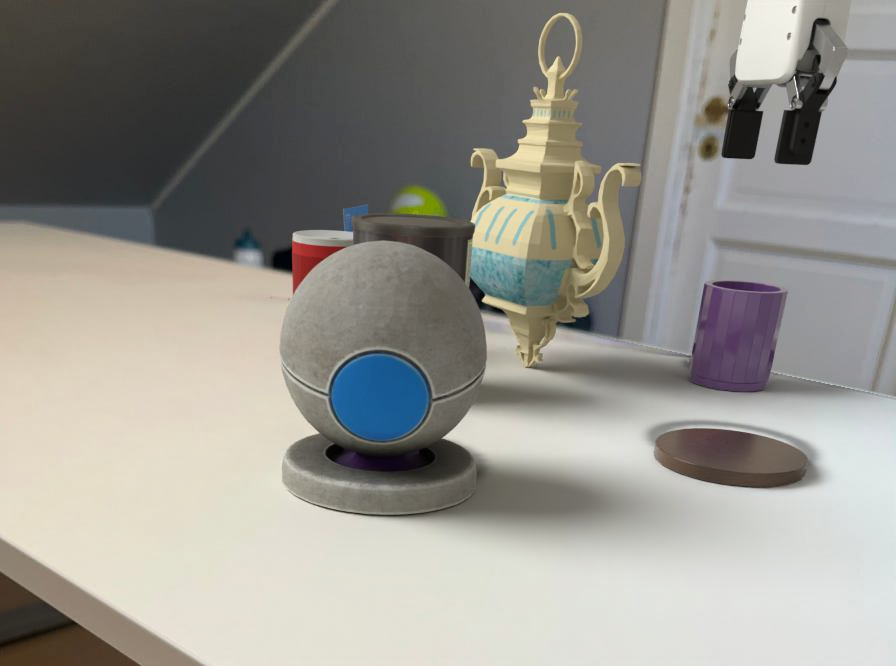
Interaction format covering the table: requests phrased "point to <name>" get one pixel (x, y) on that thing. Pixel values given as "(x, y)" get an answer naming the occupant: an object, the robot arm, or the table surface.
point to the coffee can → (421, 235)
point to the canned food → (315, 250)
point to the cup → (737, 335)
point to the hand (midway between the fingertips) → (763, 161)
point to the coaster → (730, 457)
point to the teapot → (546, 218)
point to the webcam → (382, 380)
